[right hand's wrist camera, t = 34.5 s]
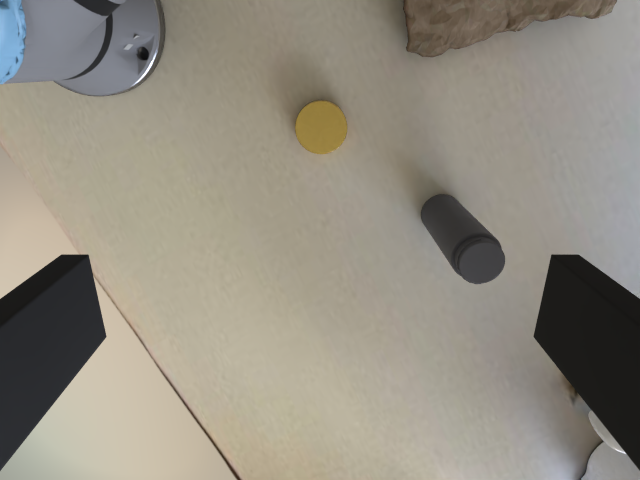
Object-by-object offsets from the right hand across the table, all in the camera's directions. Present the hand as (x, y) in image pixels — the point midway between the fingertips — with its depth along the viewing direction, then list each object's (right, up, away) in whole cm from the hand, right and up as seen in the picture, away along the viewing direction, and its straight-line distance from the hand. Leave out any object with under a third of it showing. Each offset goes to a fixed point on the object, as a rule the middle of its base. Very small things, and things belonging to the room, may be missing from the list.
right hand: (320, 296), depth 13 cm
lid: (0, +14, +36) cm, 39 cm away
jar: (+15, +5, +42) cm, 45 cm away
